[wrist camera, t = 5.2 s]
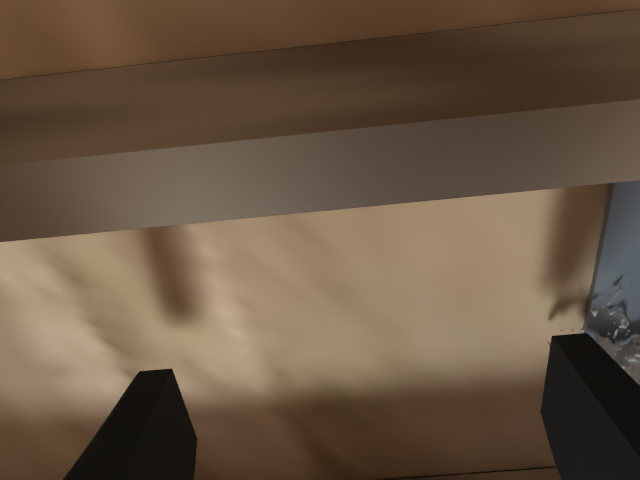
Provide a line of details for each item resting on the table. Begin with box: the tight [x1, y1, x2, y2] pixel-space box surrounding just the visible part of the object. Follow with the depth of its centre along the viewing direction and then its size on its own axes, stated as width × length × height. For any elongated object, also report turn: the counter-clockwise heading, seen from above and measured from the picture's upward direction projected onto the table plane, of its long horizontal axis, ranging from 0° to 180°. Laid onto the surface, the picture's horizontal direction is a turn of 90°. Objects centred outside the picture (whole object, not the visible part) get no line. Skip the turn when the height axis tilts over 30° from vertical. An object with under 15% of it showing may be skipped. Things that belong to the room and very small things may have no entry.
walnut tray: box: [0, 9, 640, 480], centre depth 12 cm, size 21×12×3 cm, turn 96°
